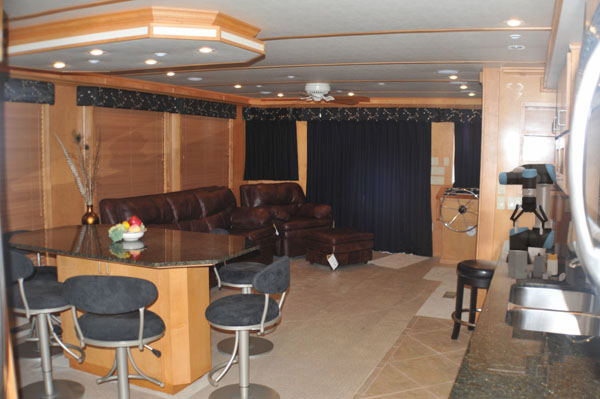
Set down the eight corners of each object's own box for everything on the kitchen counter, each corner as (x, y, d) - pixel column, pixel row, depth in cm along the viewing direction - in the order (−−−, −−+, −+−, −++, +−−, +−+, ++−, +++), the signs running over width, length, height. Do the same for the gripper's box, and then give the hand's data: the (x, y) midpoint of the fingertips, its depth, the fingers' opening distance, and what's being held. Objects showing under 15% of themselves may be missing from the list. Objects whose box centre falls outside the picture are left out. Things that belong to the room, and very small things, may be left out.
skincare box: (515, 280, 295) (515, 251, 294) (506, 277, 302) (507, 249, 301) (528, 279, 297) (528, 251, 297) (519, 276, 304) (520, 249, 303)
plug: (549, 273, 312) (549, 250, 311) (557, 274, 309) (557, 251, 308) (547, 275, 308) (547, 251, 307) (555, 276, 306) (556, 252, 305)
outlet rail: (532, 275, 307) (532, 269, 306) (565, 279, 296) (565, 273, 296) (528, 278, 299) (528, 272, 299) (561, 282, 289) (561, 275, 289)
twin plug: (535, 275, 304) (535, 252, 303) (544, 276, 301) (544, 252, 300) (533, 277, 300) (533, 253, 299) (542, 278, 297) (542, 253, 297)
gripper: (504, 195, 306) (504, 232, 308) (551, 197, 291) (550, 235, 292) (508, 195, 312) (508, 231, 313) (554, 196, 297) (553, 234, 298)
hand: (528, 233), depth 303 cm, fingers open, 13 cm apart
